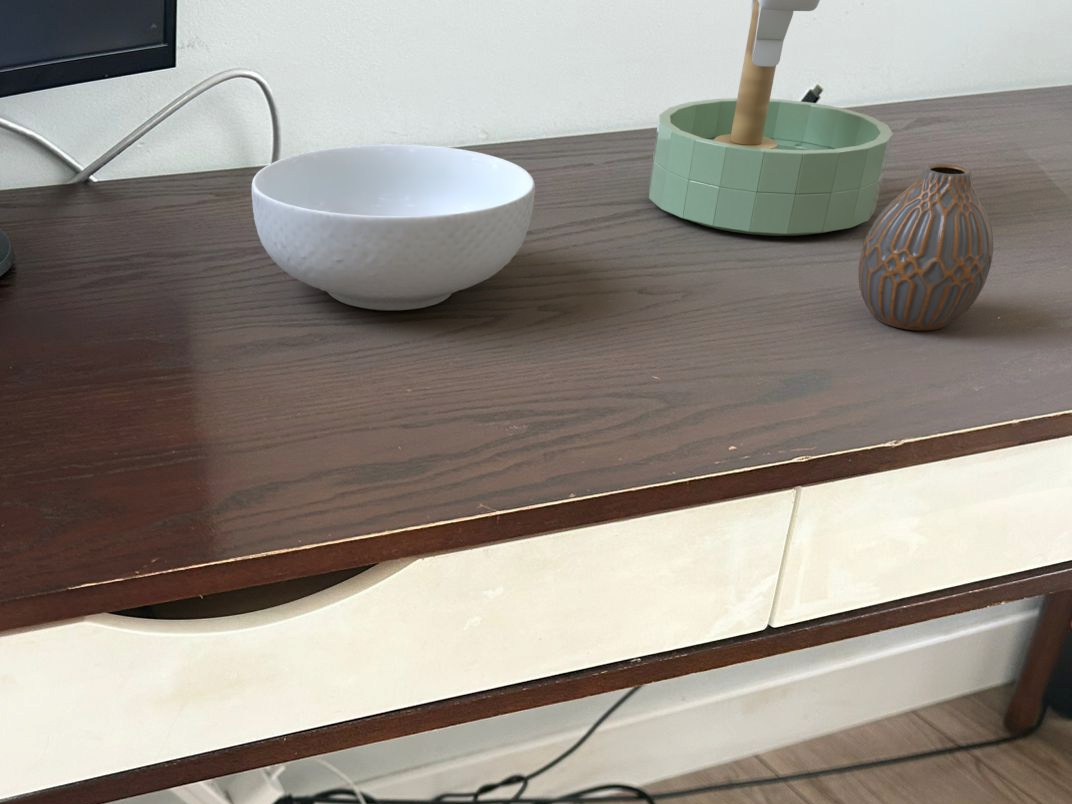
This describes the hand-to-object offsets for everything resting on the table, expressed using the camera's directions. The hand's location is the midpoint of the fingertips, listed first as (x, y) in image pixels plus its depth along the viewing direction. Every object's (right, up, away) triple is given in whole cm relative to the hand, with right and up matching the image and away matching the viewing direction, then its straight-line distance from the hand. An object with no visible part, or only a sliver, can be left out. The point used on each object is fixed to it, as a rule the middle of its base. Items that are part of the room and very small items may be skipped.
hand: (761, 59), depth 95 cm
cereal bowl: (-27, -18, -10) cm, 34 cm away
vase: (+4, -21, -14) cm, 26 cm away
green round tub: (+1, -9, +4) cm, 10 cm away
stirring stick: (0, -6, +4) cm, 7 cm away
